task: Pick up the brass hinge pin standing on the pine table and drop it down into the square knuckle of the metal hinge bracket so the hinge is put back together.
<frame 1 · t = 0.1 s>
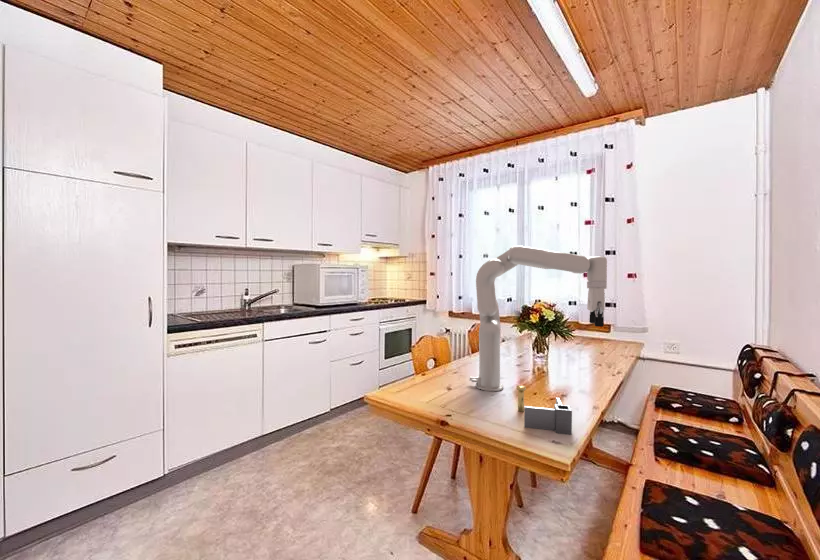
hand: (596, 324, 153), 31 cm above the table, tool pointing down, fingers open, 9 cm apart
hinge bracket: (562, 430, 120), on the table
hinge pin: (520, 410, 137), on the table
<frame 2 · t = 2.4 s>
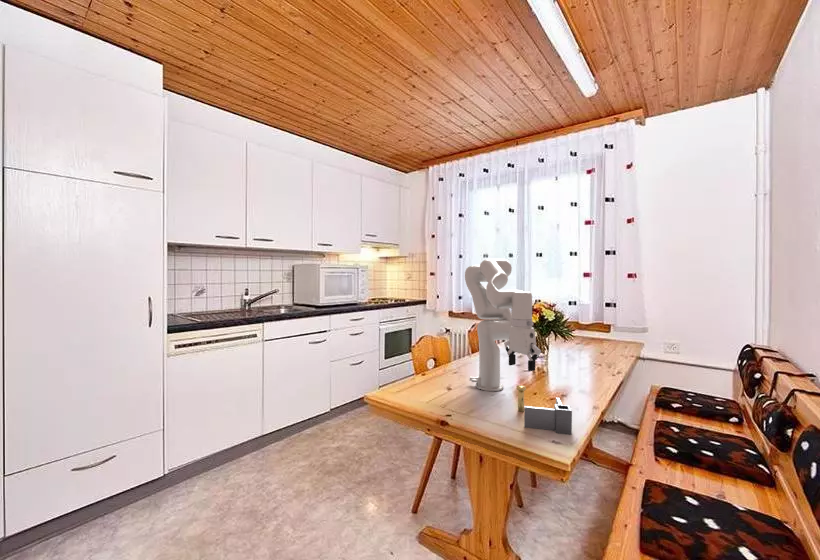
hand: (521, 367, 136), 17 cm above the table, tool pointing down, fingers open, 9 cm apart
nothing on the table moved.
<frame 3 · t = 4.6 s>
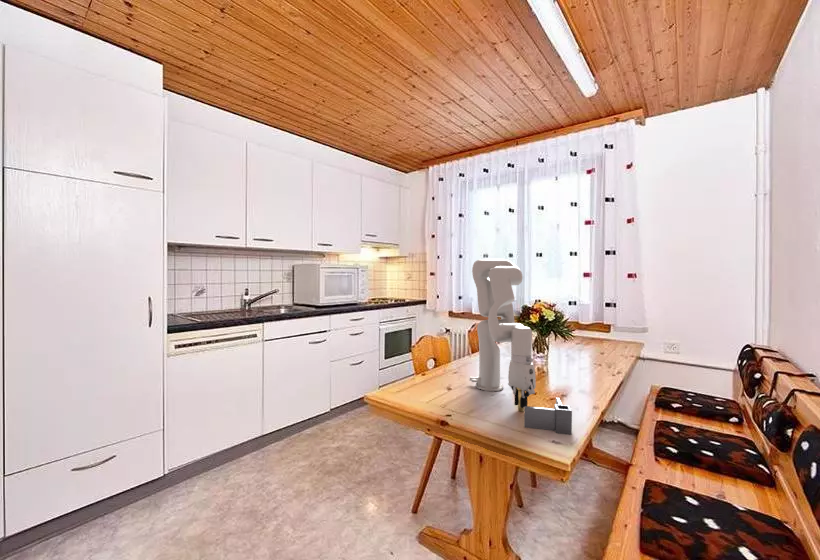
hand: (520, 405, 137), 2 cm above the table, tool pointing down, fingers closed on hinge pin, 2 cm apart
hinge pin: (520, 410, 137), on the table, touching gripper
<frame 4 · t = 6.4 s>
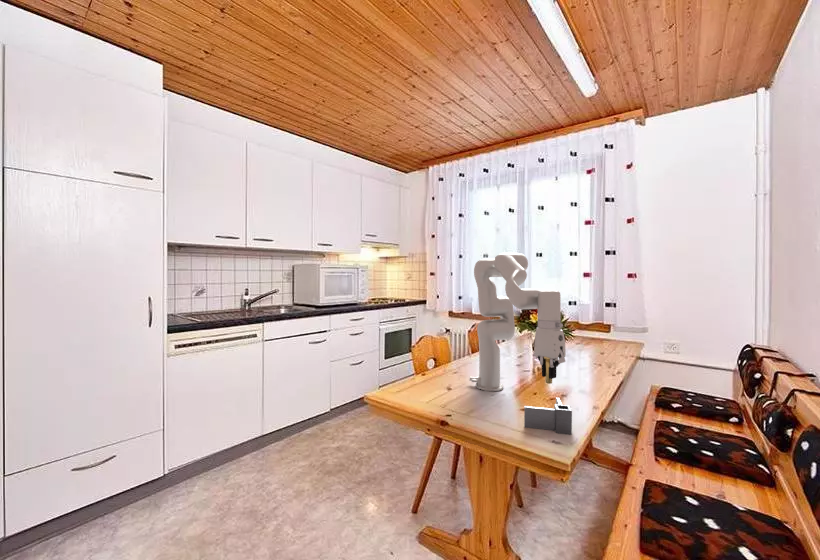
hand: (549, 376, 124), 17 cm above the table, tool pointing down, fingers closed on hinge pin
hinge pin: (548, 382, 125), point 15 cm above the table, touching gripper
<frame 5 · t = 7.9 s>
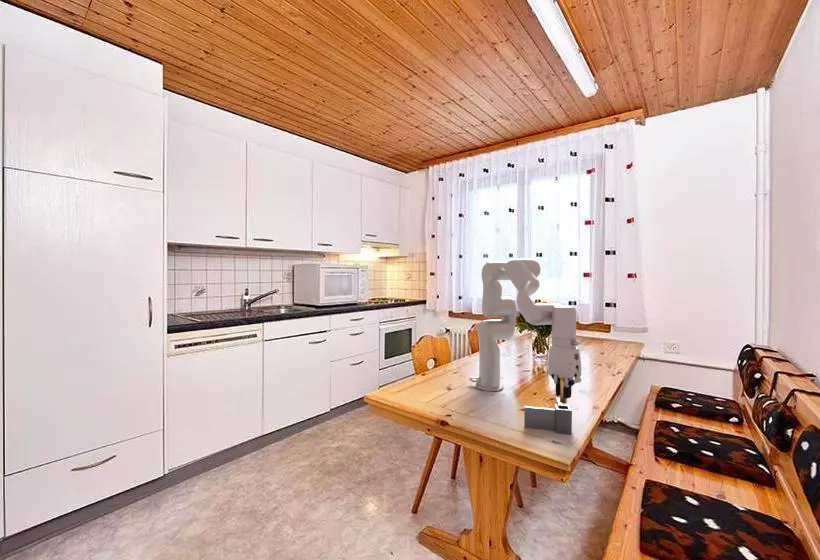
hand: (563, 396, 119), 12 cm above the table, tool pointing down, fingers closed on hinge pin
hinge pin: (563, 402, 119), point 10 cm above the table, touching gripper
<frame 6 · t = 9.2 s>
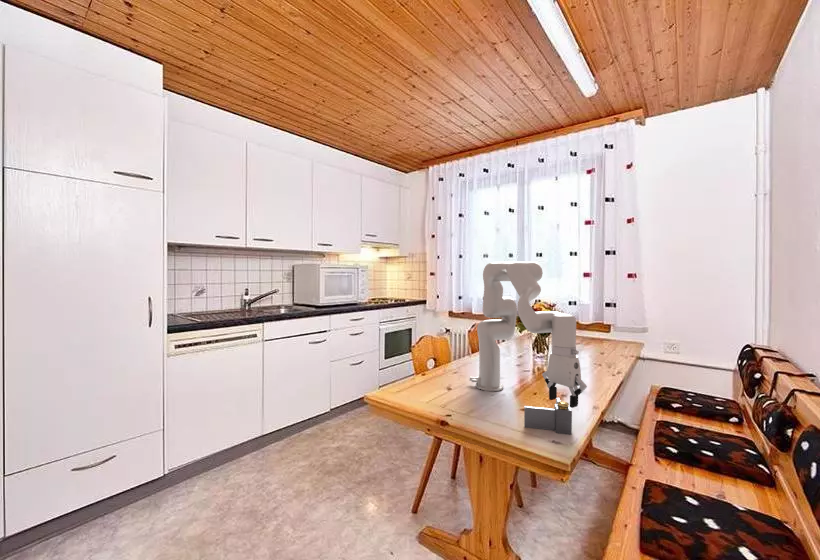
hand: (563, 402, 120), 10 cm above the table, tool pointing down, fingers open, 7 cm apart
hinge pin: (562, 430, 120), resting in hinge bracket
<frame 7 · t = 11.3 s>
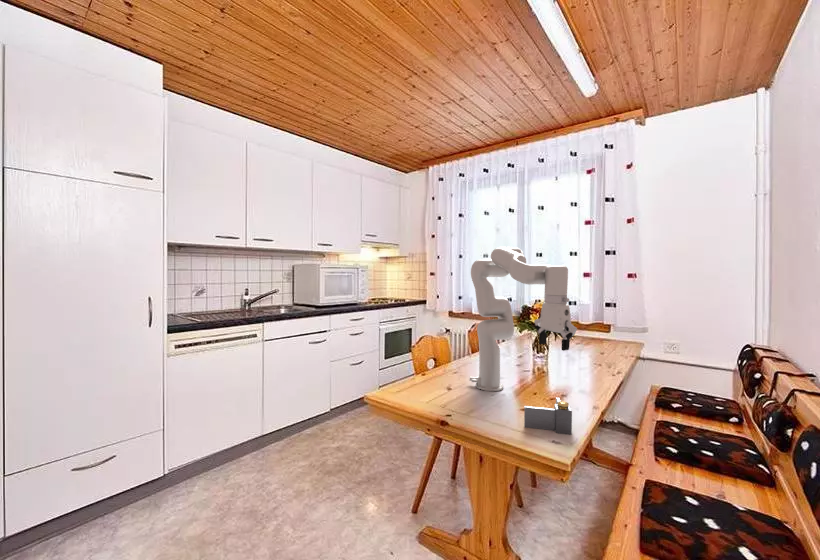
hand: (553, 346, 128), 27 cm above the table, tool pointing down, fingers open, 9 cm apart
nothing on the table moved.
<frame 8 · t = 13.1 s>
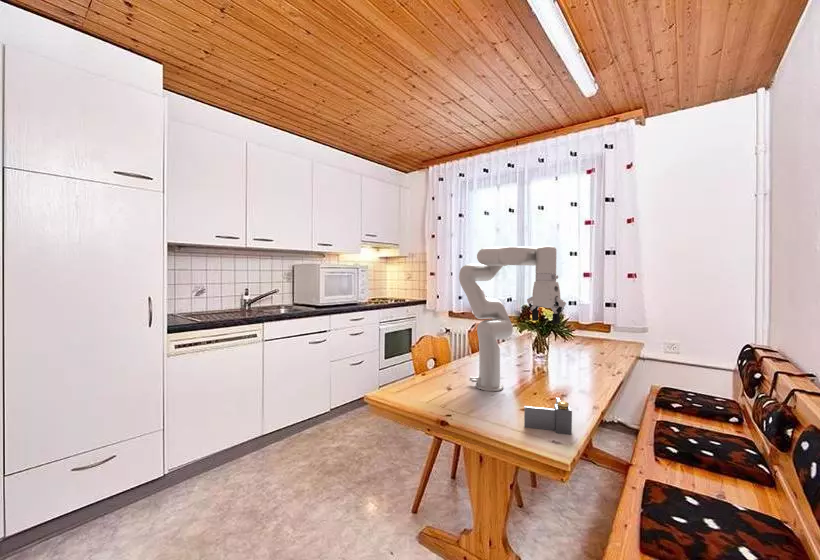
hand: (545, 322, 137), 34 cm above the table, tool pointing down, fingers open, 9 cm apart
nothing on the table moved.
at the end: hinge pin 0.0 cm off-centre on the hinge bracket, point 0.0 cm above the hinge bracket's base; hinge pin tilted 0°; the gripper is holding nothing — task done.
